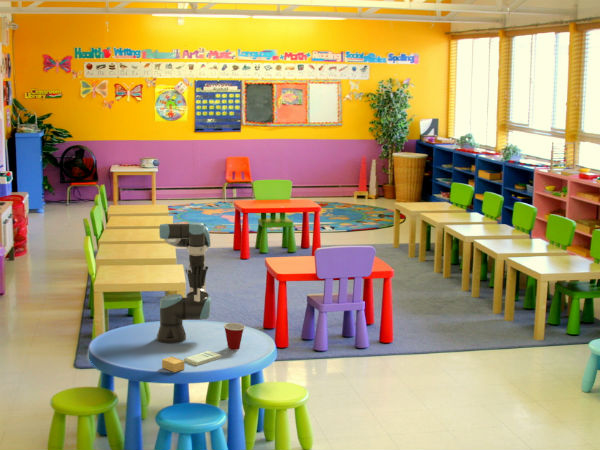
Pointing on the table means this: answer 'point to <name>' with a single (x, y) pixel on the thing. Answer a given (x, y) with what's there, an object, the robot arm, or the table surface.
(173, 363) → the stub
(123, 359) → the table surface
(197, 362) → the pale green flat block
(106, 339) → the table surface
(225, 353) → the table surface
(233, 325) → the plastic cup
